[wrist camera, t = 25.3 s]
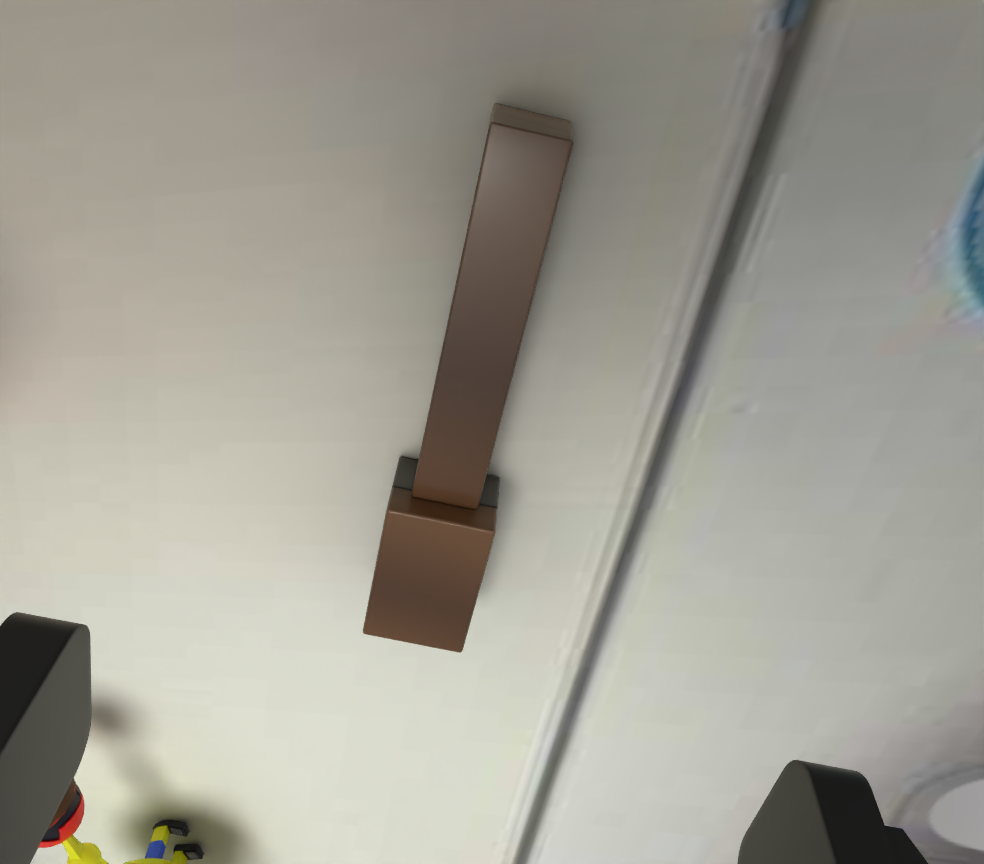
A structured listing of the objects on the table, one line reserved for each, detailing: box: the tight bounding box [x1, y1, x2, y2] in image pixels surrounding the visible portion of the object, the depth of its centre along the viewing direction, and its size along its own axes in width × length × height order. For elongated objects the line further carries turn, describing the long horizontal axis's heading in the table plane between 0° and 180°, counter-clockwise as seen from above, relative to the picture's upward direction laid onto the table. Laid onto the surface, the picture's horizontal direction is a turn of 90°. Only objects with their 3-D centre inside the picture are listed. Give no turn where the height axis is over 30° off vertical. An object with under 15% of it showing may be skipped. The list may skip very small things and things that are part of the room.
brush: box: [363, 104, 573, 652], centre depth 26 cm, size 16×3×3 cm, turn 168°
